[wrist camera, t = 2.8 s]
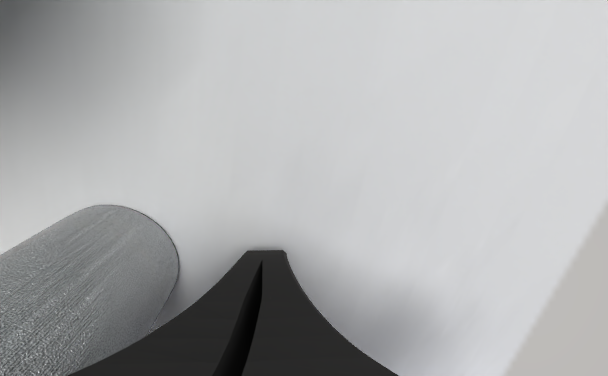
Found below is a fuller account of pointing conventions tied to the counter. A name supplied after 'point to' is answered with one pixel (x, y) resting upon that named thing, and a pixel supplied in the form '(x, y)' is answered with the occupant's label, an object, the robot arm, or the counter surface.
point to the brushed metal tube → (82, 290)
